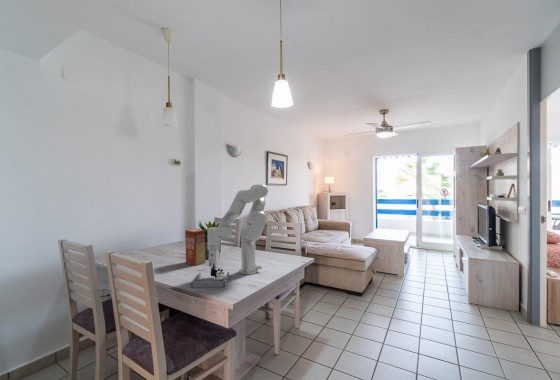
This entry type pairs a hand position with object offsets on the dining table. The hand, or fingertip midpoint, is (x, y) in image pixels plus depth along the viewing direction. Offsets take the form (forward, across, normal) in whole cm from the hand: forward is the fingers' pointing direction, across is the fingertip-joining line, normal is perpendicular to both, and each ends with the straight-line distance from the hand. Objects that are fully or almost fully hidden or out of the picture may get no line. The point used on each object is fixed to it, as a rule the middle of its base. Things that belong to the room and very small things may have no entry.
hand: (213, 275), depth 164 cm
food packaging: (+2, +33, +21) cm, 39 cm away
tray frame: (+1, -7, 0) cm, 7 cm away
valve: (+2, -7, -5) cm, 9 cm away
